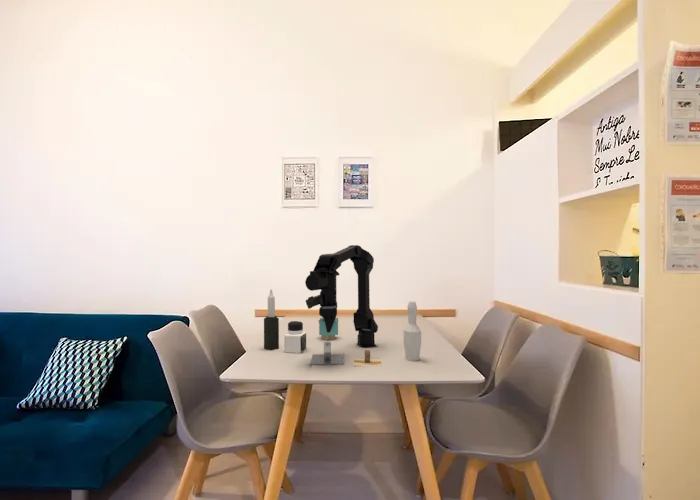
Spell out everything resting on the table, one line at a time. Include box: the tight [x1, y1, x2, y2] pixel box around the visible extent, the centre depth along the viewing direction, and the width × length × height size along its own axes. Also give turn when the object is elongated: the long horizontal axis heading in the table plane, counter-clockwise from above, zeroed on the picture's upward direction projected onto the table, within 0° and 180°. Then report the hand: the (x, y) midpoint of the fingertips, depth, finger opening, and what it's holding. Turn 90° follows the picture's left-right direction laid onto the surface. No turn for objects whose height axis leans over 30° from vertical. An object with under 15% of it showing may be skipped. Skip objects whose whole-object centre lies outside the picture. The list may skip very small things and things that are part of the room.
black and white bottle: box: [263, 288, 280, 351], centre depth 161 cm, size 5×5×25 cm
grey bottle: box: [403, 300, 422, 362], centre depth 143 cm, size 6×6×22 cm
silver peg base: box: [309, 341, 345, 367], centre depth 142 cm, size 12×12×7 cm
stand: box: [352, 349, 383, 367], centre depth 139 cm, size 10×10×5 cm
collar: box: [318, 317, 339, 336], centre depth 142 cm, size 7×7×5 cm
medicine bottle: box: [283, 320, 307, 354], centre depth 157 cm, size 7×7×12 cm
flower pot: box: [317, 319, 336, 341], centre depth 178 cm, size 9×9×9 cm
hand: (328, 330), depth 142 cm, fingers closed on collar, 7 cm apart
